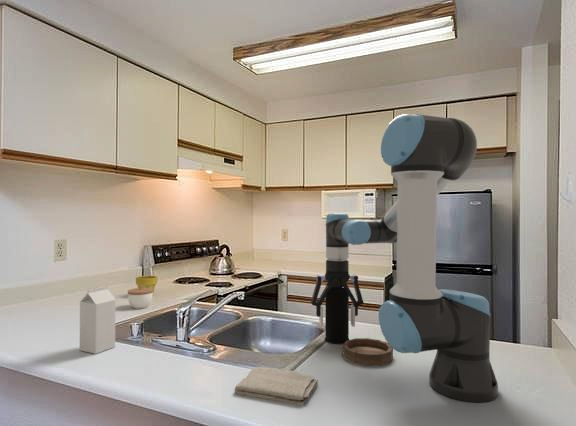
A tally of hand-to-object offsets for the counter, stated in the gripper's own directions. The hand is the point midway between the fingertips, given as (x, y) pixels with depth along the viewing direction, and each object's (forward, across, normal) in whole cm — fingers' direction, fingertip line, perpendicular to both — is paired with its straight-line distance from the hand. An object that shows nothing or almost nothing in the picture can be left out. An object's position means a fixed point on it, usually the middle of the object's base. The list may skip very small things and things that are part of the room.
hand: (337, 325), depth 127 cm
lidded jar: (+5, +79, -51) cm, 94 cm away
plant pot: (+5, +83, -75) cm, 112 cm away
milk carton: (+5, +76, +3) cm, 76 cm away
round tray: (+5, -6, +15) cm, 17 cm away
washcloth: (+5, +22, +34) cm, 41 cm away
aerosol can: (+5, 0, 0) cm, 5 cm away
